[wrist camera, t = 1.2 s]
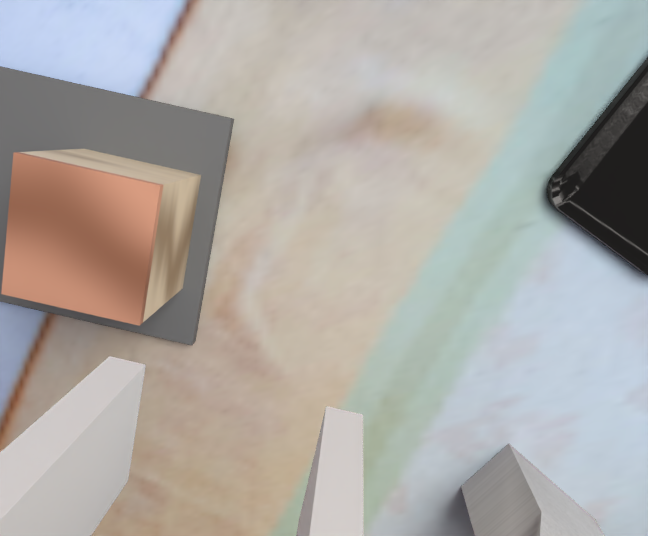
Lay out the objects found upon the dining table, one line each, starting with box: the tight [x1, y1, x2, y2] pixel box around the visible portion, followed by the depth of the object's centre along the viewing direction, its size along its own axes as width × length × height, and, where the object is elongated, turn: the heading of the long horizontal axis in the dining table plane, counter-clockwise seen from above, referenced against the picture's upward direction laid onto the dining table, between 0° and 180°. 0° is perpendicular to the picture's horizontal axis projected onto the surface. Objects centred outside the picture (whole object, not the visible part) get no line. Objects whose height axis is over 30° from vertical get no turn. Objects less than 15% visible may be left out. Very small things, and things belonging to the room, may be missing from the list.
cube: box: [1, 149, 201, 326], centre depth 26 cm, size 6×6×6 cm
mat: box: [0, 66, 234, 345], centre depth 30 cm, size 12×20×1 cm, turn 78°
